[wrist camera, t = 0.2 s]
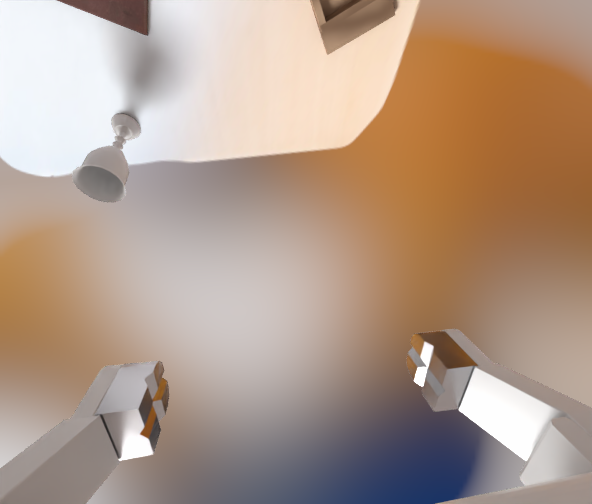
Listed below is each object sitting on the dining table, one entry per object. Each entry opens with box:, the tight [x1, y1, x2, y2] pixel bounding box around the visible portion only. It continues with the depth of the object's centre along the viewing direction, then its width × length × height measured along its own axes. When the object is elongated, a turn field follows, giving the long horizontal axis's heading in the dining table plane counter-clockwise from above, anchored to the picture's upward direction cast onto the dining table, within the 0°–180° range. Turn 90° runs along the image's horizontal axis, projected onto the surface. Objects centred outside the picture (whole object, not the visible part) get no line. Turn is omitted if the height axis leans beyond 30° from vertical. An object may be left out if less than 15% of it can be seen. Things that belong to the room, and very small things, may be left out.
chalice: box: [72, 114, 141, 202], centre depth 48 cm, size 7×7×18 cm
